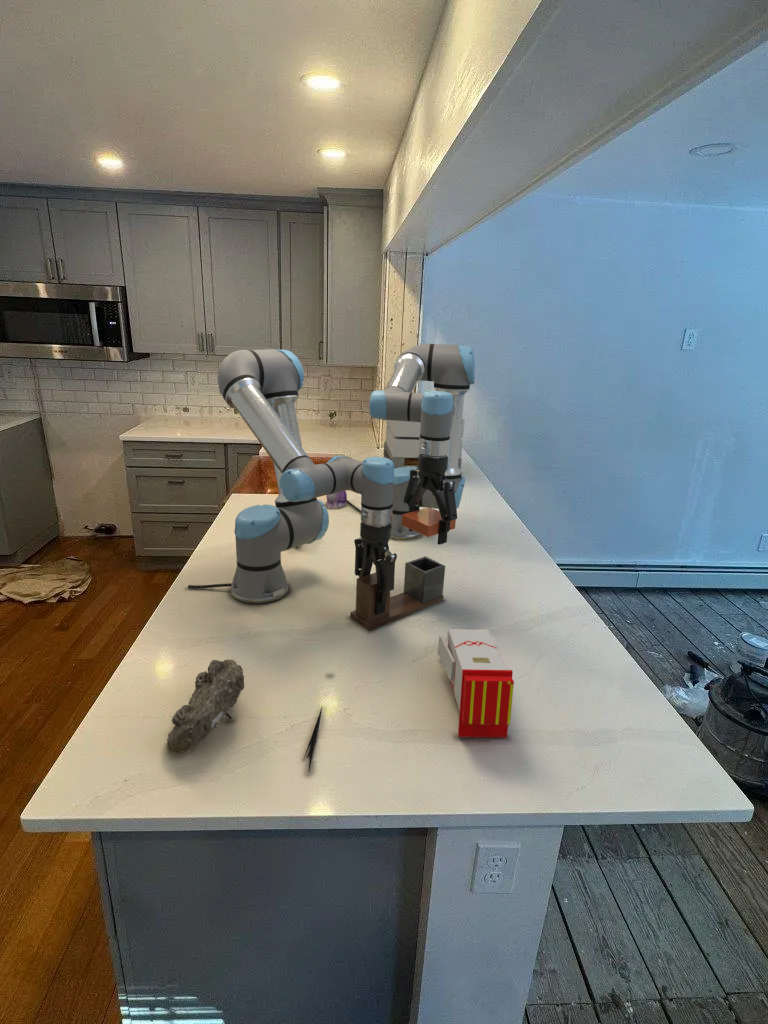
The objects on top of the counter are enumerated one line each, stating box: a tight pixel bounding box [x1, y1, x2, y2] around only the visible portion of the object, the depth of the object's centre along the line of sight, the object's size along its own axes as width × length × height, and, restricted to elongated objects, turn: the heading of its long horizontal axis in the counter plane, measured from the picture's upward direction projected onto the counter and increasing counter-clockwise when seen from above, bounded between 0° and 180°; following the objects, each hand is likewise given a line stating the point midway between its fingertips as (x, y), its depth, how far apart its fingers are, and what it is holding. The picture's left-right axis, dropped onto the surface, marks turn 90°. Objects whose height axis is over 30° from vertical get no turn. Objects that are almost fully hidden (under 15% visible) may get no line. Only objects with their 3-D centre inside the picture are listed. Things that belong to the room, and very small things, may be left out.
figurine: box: [325, 490, 348, 509], centre depth 223 cm, size 9×10×15 cm
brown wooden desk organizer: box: [349, 556, 446, 632], centre depth 148 cm, size 8×26×12 cm, turn 131°
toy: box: [437, 628, 515, 738], centre depth 117 cm, size 12×13×30 cm
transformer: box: [383, 418, 465, 471], centre depth 268 cm, size 34×33×41 cm
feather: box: [301, 673, 332, 771], centre depth 108 cm, size 2×28×2 cm
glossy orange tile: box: [401, 507, 457, 538], centre depth 148 cm, size 10×10×4 cm
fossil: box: [166, 658, 245, 754], centre depth 106 cm, size 22×10×15 cm
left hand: (372, 607), depth 143 cm, fingers closed on brown wooden desk organizer, 5 cm apart
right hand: (427, 536), depth 150 cm, fingers closed on glossy orange tile, 10 cm apart
